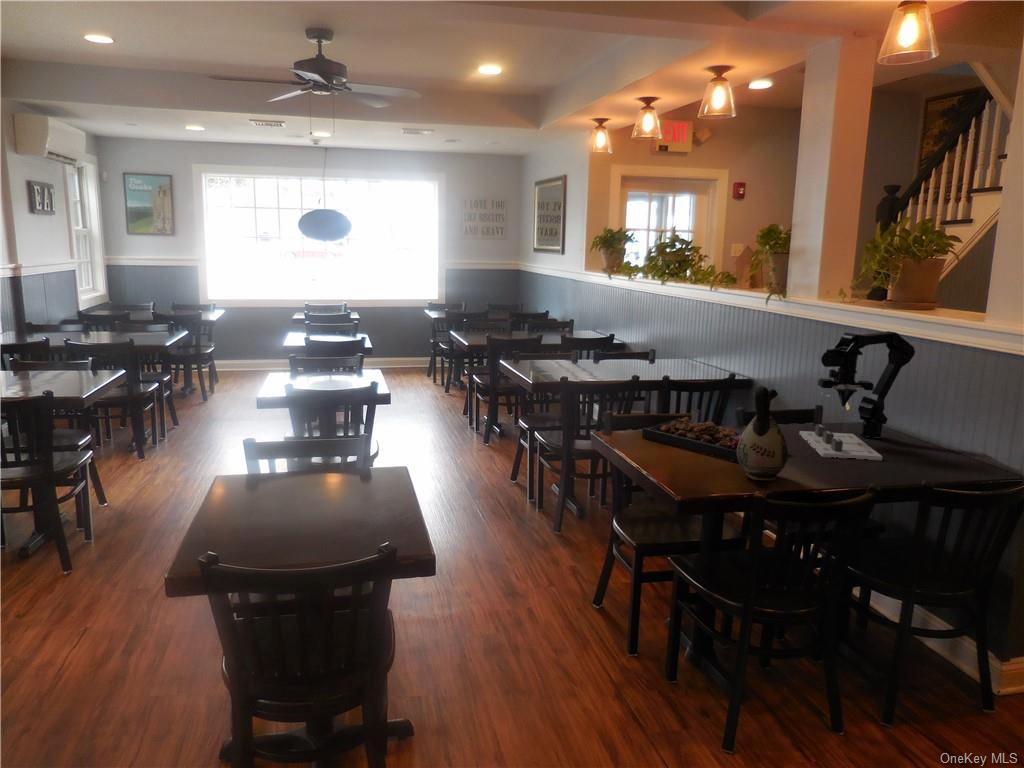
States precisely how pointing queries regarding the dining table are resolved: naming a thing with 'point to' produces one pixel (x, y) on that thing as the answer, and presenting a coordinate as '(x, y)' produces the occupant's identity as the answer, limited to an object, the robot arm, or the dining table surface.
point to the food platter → (696, 437)
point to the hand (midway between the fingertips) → (842, 406)
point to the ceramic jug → (762, 441)
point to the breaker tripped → (827, 436)
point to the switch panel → (849, 449)
